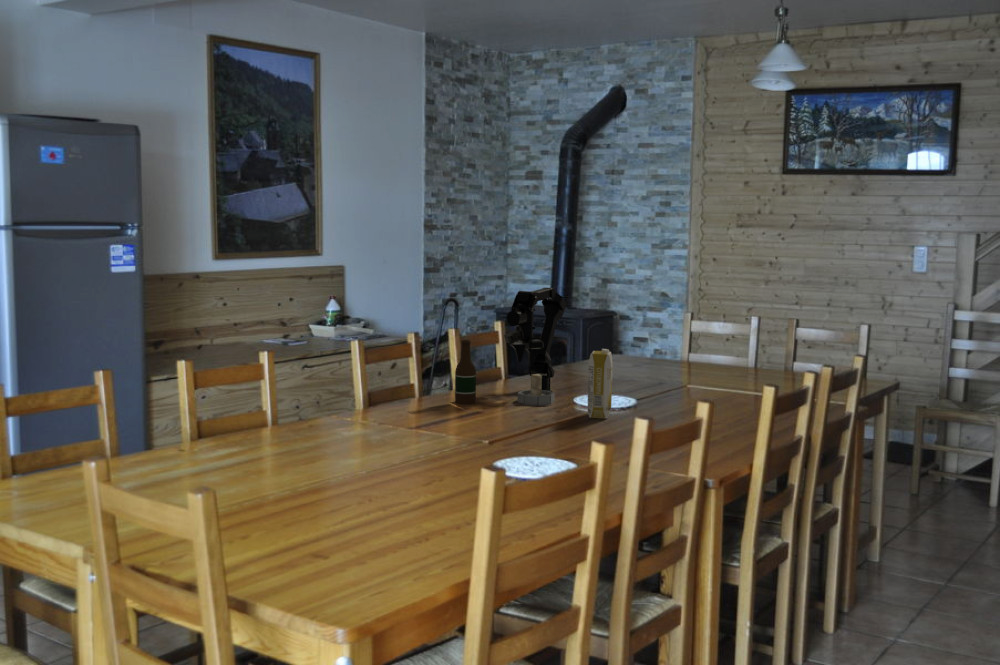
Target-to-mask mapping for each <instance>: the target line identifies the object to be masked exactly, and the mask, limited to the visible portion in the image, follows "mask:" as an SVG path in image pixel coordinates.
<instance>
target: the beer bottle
mask: <svg viewBox="0 0 1000 665" xmlns="http://www.w3.org/2000/svg"><path fill="white" fill-rule="evenodd" d="M460 344H461V348H460V349H461V350H460V359H459V362H458V364H457V365H456V368H455V372H454V374H455V375H454V378H455V379H454V402H455V404H459V405H473V404H475V403H476V400H477V399H476V398H477V371H476V370H477V369H476V367H475V365H474V364H473V362H472V354H471V353H472V351H471V344H472V341H471V340H470V339H461V341H460Z"/></svg>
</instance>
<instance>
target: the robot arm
mask: <svg viewBox="0 0 1000 665" xmlns="http://www.w3.org/2000/svg"><path fill="white" fill-rule="evenodd" d="M540 301H541V304H542V307H543V313H544V316H545V318H544V319H545V320H544V324H543V326H542V327H543V328H542V331H541V334H540V339H536V337H535V336H534V330H536V326H534V312H535V311H536V308H535V306H537V305H538V302H540ZM566 309H567V302H566V301H565V299H564V297H563V296H562V295H561V294H559V293H558V292H557V290H556V289H555V288H554V287H542V288H539V289H536V290H535V289H534V290H531V291H529V290H528V291H527V290H519V291H517V293H516V295H515V297H514V298H513V302H512V305H511V308H510V311H509V312H508V313H507V315H506V319H505V320H506V322H507V324H508V325H509V326H510V327H515V330H512V331H510V332H507V333H505V334H504V335H503V338H504V341H505V343H506V344H509V345H510V346H511V347H512V348H513V350H514V353H515V355H516V360H517V362H518V363H521V362H522V360H523V357H524V353H525V351H526V352H527V358H528V371H529V376H530V377H531V375H532V374H539V375H542V389H541V390H547V391H551V392H553V390H551V378H554V377H555V369H554V367H553V366H552V358H551V356H550V353H551V348H552V343H553V340H554V336H555V332H556V327H557V324H558V321H559V320H560V319H561V318H562V317H563V316H564V313H565V310H566Z"/></svg>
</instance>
